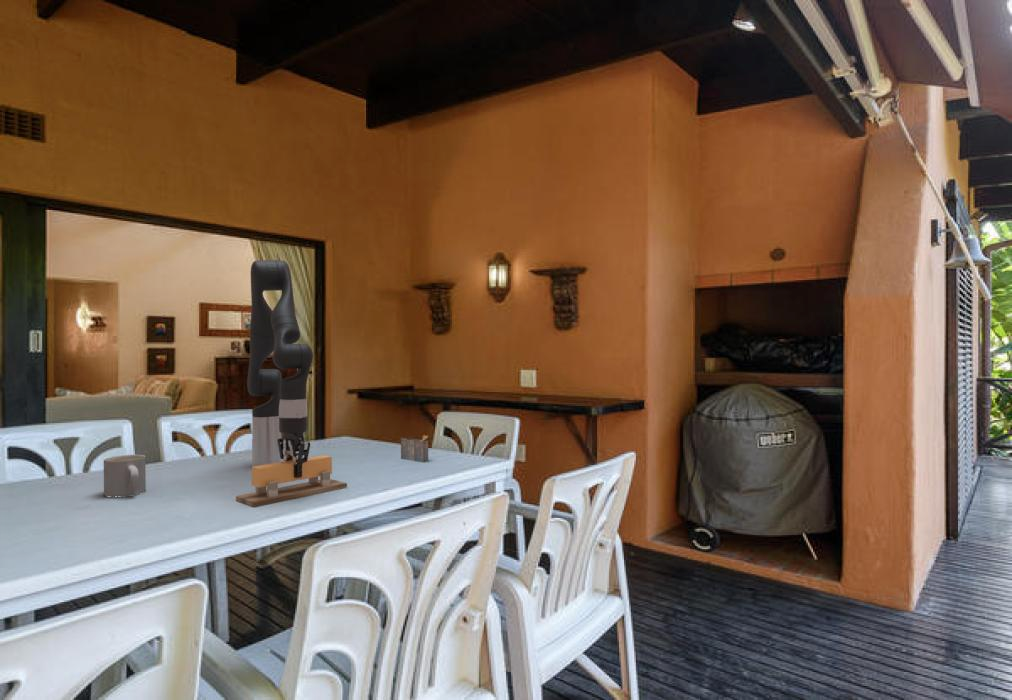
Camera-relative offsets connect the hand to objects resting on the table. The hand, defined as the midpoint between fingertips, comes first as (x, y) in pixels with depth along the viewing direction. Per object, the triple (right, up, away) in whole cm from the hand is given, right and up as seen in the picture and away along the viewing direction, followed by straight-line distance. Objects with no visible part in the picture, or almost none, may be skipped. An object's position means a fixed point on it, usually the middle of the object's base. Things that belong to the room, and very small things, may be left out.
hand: (293, 476), depth 169 cm
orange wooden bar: (0, -1, 0) cm, 1 cm away
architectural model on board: (+26, -5, +49) cm, 56 cm away
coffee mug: (-47, -5, 0) cm, 47 cm away
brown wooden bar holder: (0, -5, 0) cm, 5 cm away
